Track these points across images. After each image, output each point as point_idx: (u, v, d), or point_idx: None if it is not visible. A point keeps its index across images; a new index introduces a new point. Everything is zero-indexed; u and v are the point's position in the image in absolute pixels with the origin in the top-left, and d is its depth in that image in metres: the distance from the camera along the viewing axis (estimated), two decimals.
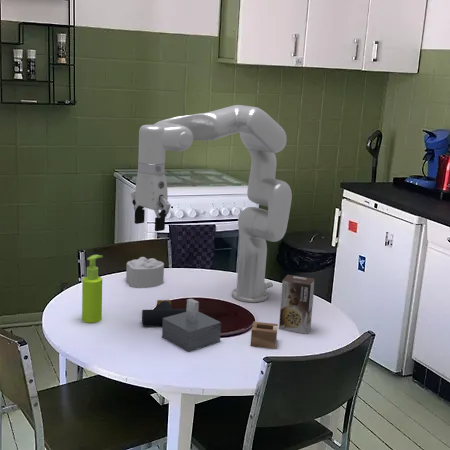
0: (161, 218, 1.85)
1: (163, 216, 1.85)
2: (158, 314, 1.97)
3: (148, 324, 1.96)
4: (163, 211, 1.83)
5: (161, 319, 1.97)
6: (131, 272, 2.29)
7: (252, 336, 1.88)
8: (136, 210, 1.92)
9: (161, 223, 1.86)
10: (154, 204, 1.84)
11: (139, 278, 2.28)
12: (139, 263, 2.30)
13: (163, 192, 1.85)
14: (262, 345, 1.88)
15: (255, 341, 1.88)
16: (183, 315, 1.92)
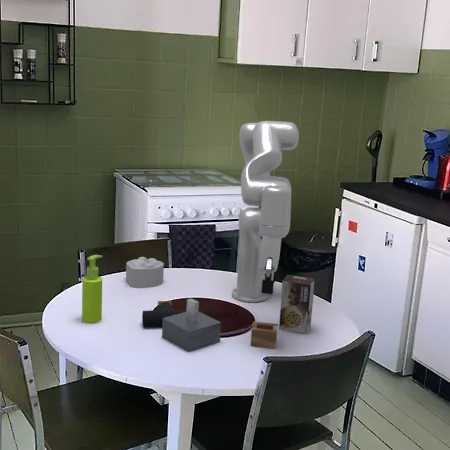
0: None
1: None
2: (158, 315, 1.96)
3: (148, 325, 1.96)
4: None
5: (161, 320, 1.96)
6: (131, 272, 2.29)
7: (252, 336, 1.88)
8: None
9: None
10: None
11: (138, 278, 2.29)
12: (139, 263, 2.30)
13: None
14: (262, 345, 1.88)
15: (255, 341, 1.88)
16: (183, 315, 1.92)
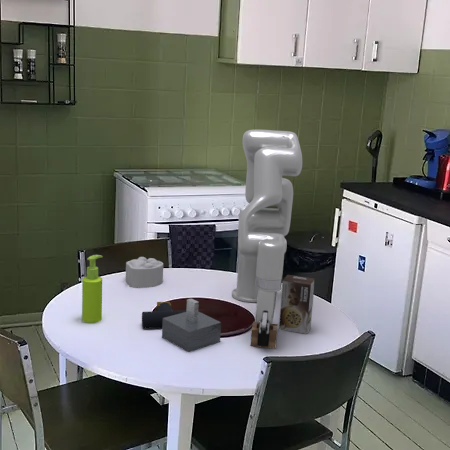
0: None
1: None
2: (158, 316, 1.96)
3: (148, 326, 1.95)
4: None
5: (161, 321, 1.95)
6: (131, 272, 2.29)
7: (252, 336, 1.88)
8: None
9: None
10: None
11: (138, 278, 2.29)
12: (139, 263, 2.30)
13: None
14: None
15: (255, 341, 1.88)
16: (183, 315, 1.92)
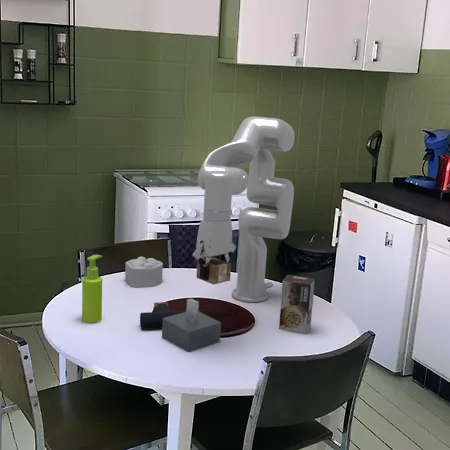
0: None
1: None
2: (157, 317, 1.95)
3: (147, 327, 1.94)
4: (231, 253, 1.88)
5: (160, 322, 1.95)
6: (130, 272, 2.29)
7: (197, 268, 1.85)
8: (207, 266, 1.81)
9: None
10: (231, 246, 1.85)
11: (138, 278, 2.29)
12: (138, 263, 2.30)
13: None
14: None
15: (199, 273, 1.85)
16: (183, 315, 1.92)
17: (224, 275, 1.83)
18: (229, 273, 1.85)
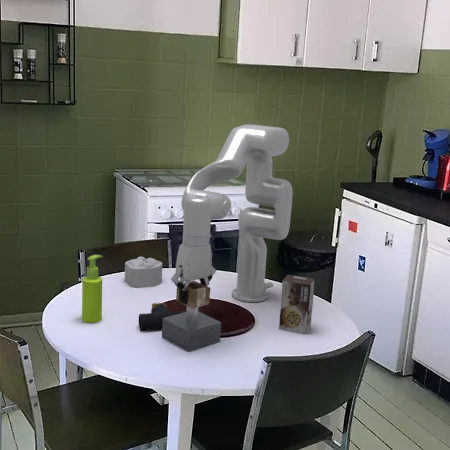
0: None
1: None
2: (156, 318, 1.94)
3: (146, 328, 1.93)
4: (211, 276, 1.89)
5: (159, 323, 1.94)
6: (130, 272, 2.29)
7: (177, 291, 1.87)
8: (186, 290, 1.83)
9: None
10: (210, 270, 1.87)
11: (138, 278, 2.29)
12: (138, 263, 2.30)
13: None
14: None
15: None
16: (183, 315, 1.92)
17: (203, 299, 1.85)
18: (208, 297, 1.86)
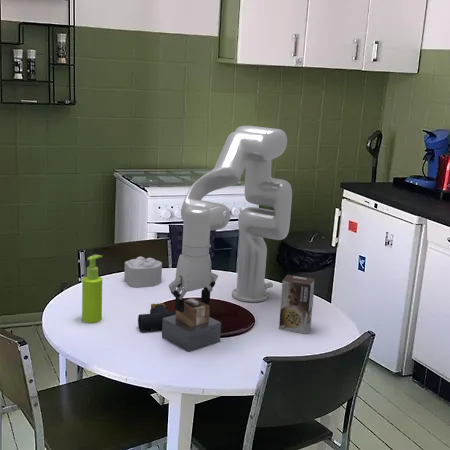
0: None
1: None
2: (156, 318, 1.94)
3: (146, 329, 1.93)
4: (214, 283, 1.91)
5: (159, 323, 1.94)
6: (130, 272, 2.29)
7: None
8: (182, 298, 1.83)
9: None
10: (210, 280, 1.88)
11: (137, 278, 2.29)
12: (138, 263, 2.30)
13: None
14: (183, 320, 1.87)
15: (178, 315, 1.88)
16: None
17: (202, 317, 1.86)
18: (207, 315, 1.88)
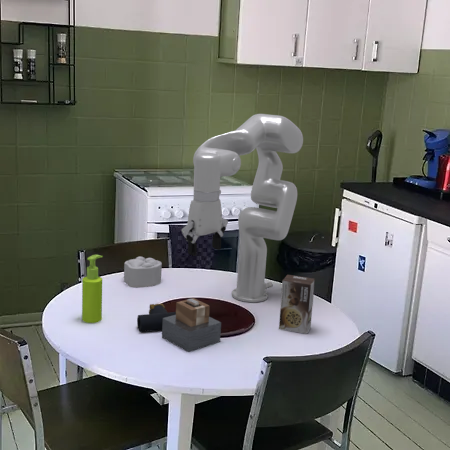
0: None
1: None
2: (155, 318, 1.93)
3: (145, 329, 1.93)
4: (225, 228, 1.97)
5: (159, 323, 1.93)
6: (129, 272, 2.29)
7: (176, 309, 1.88)
8: None
9: None
10: (221, 225, 1.94)
11: (137, 278, 2.29)
12: (137, 263, 2.30)
13: None
14: (183, 320, 1.87)
15: (178, 315, 1.88)
16: None
17: (202, 317, 1.86)
18: (207, 315, 1.88)
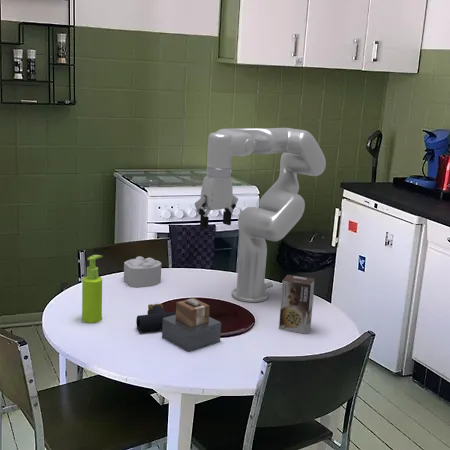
0: None
1: None
2: (155, 319, 1.93)
3: (145, 330, 1.92)
4: (235, 205, 2.09)
5: (158, 324, 1.93)
6: (129, 272, 2.29)
7: (176, 309, 1.88)
8: None
9: None
10: (231, 202, 2.06)
11: (137, 278, 2.29)
12: (137, 262, 2.30)
13: None
14: (183, 320, 1.87)
15: (178, 315, 1.88)
16: None
17: (202, 317, 1.86)
18: (207, 315, 1.88)
